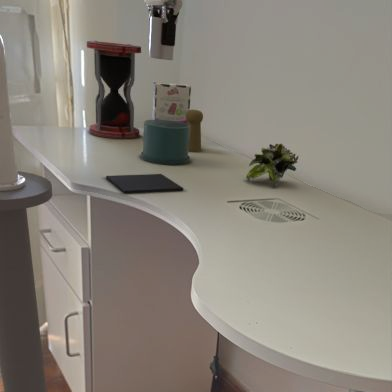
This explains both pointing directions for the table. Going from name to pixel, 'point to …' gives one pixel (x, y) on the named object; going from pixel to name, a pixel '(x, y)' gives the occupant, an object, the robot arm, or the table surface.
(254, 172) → the leafy green plant
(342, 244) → the table surface
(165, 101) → the candy bar box
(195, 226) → the table surface
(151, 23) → the steel cup
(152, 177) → the mat
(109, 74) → the hourglass
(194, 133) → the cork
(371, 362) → the table surface
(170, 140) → the teal short wide cylinder
